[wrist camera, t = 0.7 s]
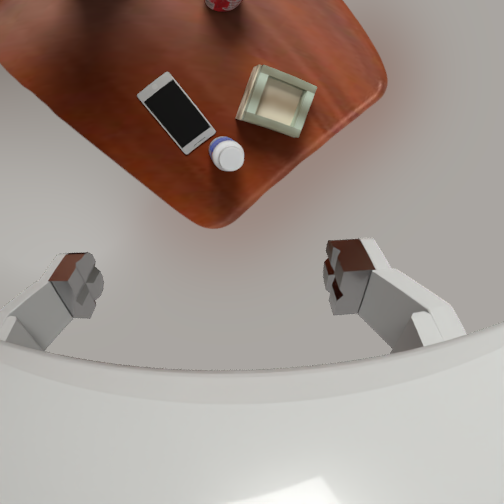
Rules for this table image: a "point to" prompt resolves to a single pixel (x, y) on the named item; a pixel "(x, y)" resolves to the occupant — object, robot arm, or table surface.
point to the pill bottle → (226, 153)
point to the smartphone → (176, 112)
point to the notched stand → (276, 101)
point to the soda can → (222, 4)
